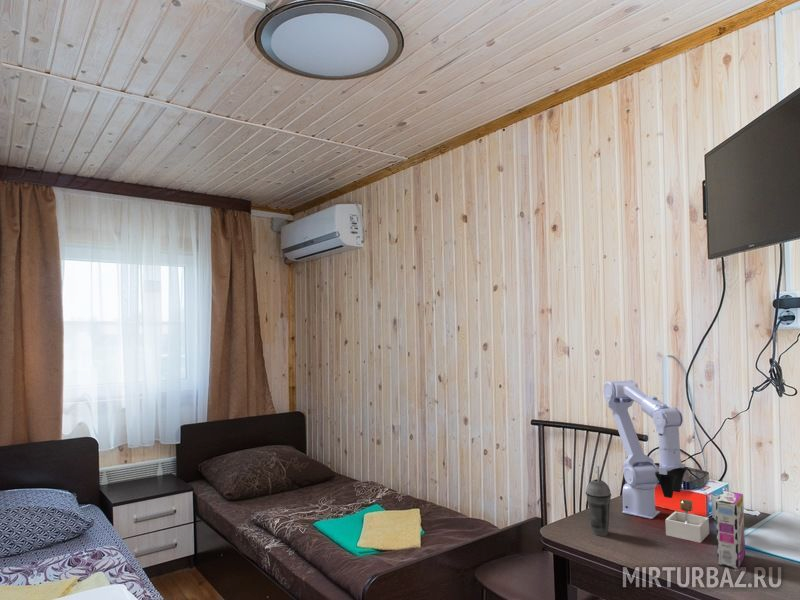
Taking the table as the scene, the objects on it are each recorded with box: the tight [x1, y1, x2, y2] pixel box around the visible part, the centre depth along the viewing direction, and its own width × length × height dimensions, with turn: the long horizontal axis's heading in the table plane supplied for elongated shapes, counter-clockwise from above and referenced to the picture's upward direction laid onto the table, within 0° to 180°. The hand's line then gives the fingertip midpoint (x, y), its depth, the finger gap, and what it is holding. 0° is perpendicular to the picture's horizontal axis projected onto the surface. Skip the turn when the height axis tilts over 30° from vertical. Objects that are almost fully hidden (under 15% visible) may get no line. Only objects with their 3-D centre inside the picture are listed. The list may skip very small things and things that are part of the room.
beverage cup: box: [585, 465, 612, 537], centre depth 166 cm, size 7×7×20 cm
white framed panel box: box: [664, 511, 710, 544], centre depth 164 cm, size 9×11×4 cm
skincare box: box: [710, 494, 721, 521], centre depth 173 cm, size 6×6×7 cm
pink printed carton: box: [715, 490, 746, 570], centre depth 145 cm, size 11×5×16 cm, turn 141°
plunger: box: [678, 498, 697, 525], centre depth 163 cm, size 7×7×8 cm
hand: (672, 494), depth 167 cm, fingers open, 7 cm apart
